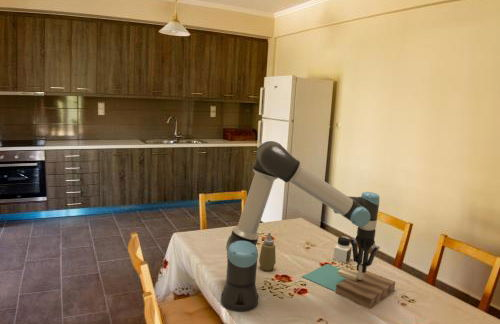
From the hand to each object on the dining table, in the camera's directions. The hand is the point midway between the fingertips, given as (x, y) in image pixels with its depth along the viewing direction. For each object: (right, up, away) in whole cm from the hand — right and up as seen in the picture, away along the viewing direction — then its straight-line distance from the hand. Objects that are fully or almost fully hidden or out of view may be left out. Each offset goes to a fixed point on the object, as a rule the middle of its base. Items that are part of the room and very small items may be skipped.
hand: (360, 278), depth 172 cm
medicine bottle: (-1, 0, +32) cm, 32 cm away
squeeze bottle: (-41, 0, +15) cm, 44 cm away
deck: (+2, -5, -1) cm, 6 cm away
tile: (-4, 0, +4) cm, 5 cm away
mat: (-11, -3, +10) cm, 15 cm away
